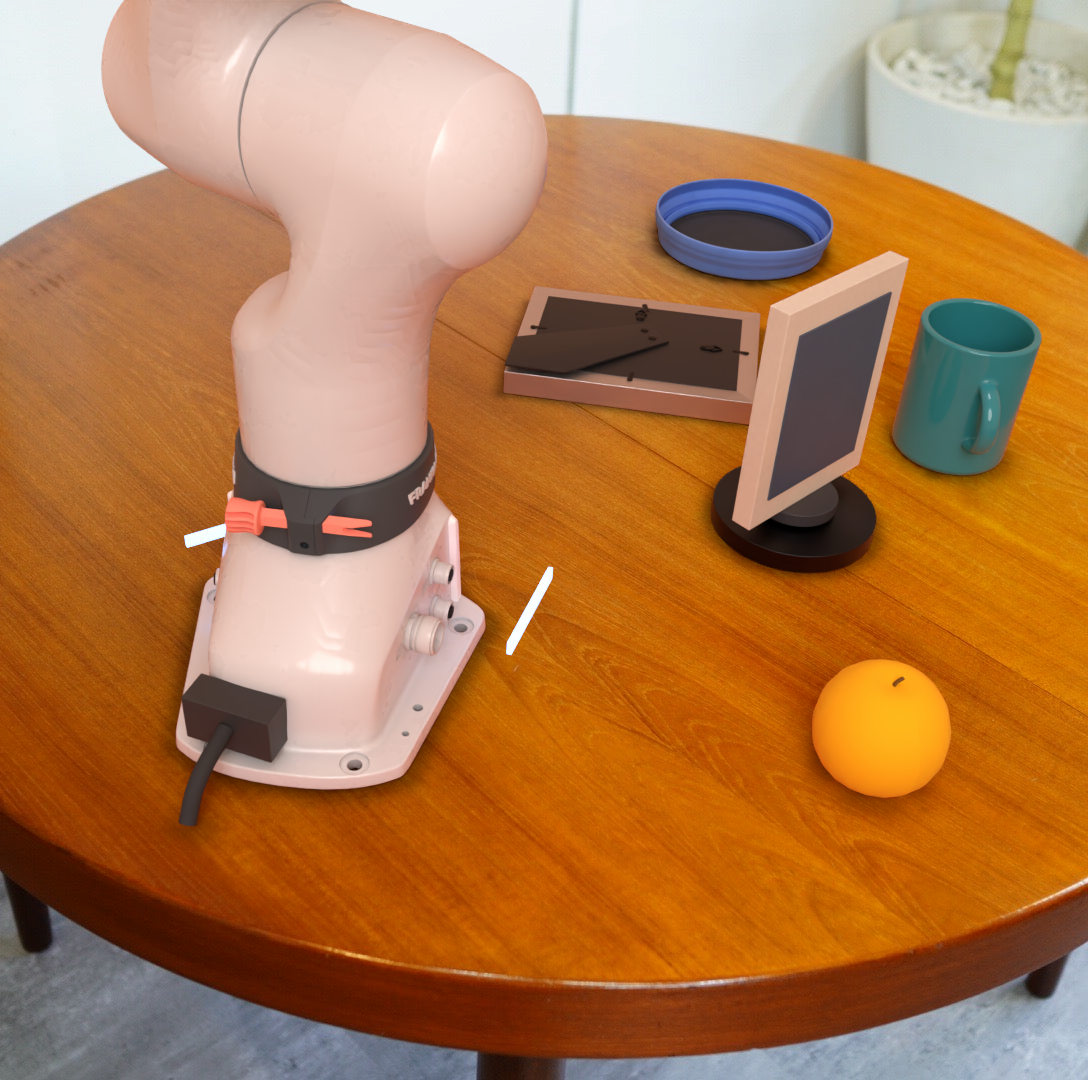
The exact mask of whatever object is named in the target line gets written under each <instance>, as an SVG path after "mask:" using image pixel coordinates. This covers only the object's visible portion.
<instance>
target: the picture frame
mask: <svg viewBox="0 0 1088 1080" xmlns="http://www.w3.org/2000/svg"><path fill="white" fill-rule="evenodd" d="M531 293H532V294H531V296H530V299H529V302H528V305H527V307H526V310H525V313H524V316H523V318H522V321H521V324H520V327H519V330H518V333H517V335H516V336H514V338H513V341H512V343H511V346H510V349H509V351H508V354H507V357H506V359H505V362H504V367H505V370H504V372H503V394H508V395H516V396H523V397H531V398H540V399H547V400H555V401H561V402H571V403H578V404H584V405H585V404H586V405H592V406H593V405H594V406H600V407H608V408H617V409H624V410H631V411H640V412H646V413H647V412H648V413H654V414H663V415H670V416H676V417H677V416H678V417H685V418H693V419H700V420H701V419H702V420H708V421H716V422H724V423H732V424H738V425H739V424H740V425H746V426H747V425H748V426H749V422H750V417H751V411H752V406H753V400H754V394H755V389H756V383H757V377H758V364H759V348H760V347H759V346H760V327H761V313H760V312H751V311H743V310H736V309H729V308H719V307H711V306H703V305H696V304H687V303H678V302H669V301H661V300H655V299H646V298H637V297H630V296H628V297H627V296H621V295H613V294H606V293H605V294H604V293H596V292H588V291H580V290H579V291H578V290H572V289H563V288H556V287H547V286H540V285H539V286H538V285H535V286H534V288H533V290H532V292H531Z"/></svg>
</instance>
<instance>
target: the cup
mask: <svg viewBox="0 0 1088 1080" xmlns="http://www.w3.org/2000/svg"><path fill="white" fill-rule="evenodd" d="M1042 340H1043V335H1042V332H1041V330H1040V329H1039V327H1038V325H1037V324H1036V323H1035V322H1034V321H1033V320H1032V319H1031V318H1029V317H1028V316H1027V315H1025V314H1024V313H1021V311H1018V310H1016V309H1014V308H1011V307H1009V306H1006V305H1003V304H1001V303H997V302H994V301H989V300H984V299H978V298H969V297H954V298H947V299H946V298H945V299H942V300H938V301H934V302H933V303H931V304H929V305H928V306H926V307H925V308H924V309H923V311H922V312H921V315H920V319H919V322H918V327H917V330H916V333H915V337H914V341H913V342H914V343H913V345H912V350H911V353H910V356H909V361H908V365H907V367H906V372H905V376H904V380H903V384H902V387H901V388H902V389H901V392H900V396H899V399H898V403H897V408H896V411H895V415H894V419H893V423H892V427H891V436H892V437H891V438H892V440H893V443H894V445H895V447H896V448H897V449H898V451H899V452H900V453H901V454H902V455H903V456H904V457H905V458H907V459H908V460H910V461H911V462H912V463H914V464H916V465H918V466H920V467H921V468H924V469H927V470H930V471H932V472H936V473H940V474H944V475H951V476H973V475H974V476H975V475H979V474H980V475H981V474H983V473H987V472H989V471H991V470H993V469H994V468H996V467H997V466H998V465H999V464H1000V463H1001V462H1002V460H1003V459H1004V457H1005V454H1006V452H1007V448H1008V445H1009V442H1010V439H1011V437H1012V433H1013V431H1014V427H1015V424H1016V420H1017V418H1018V415H1019V412H1020V410H1021V409H1020V408H1021V405H1022V403H1023V399H1024V396H1025V393H1026V390H1027V388H1028V384H1029V381H1030V378H1031V375H1032V372H1033V369H1034V365H1035V362H1036V360H1037V357H1038V354H1039V351H1040V347H1041V344H1042Z"/></svg>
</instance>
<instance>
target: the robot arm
mask: <svg viewBox="0 0 1088 1080" xmlns="http://www.w3.org/2000/svg"><path fill="white" fill-rule="evenodd" d="M100 65H101V67H100V69H101V73H100V74H101V85H102V91H103V95H104V98H105V103H106V106H107V108H108V110H109V113H110V115H111V117H112V119H113V121H114V122H115V124H116V125H117V126H118V128H119V129H120V131H121V132H122V133H123V134H124V135H125V136H126V137H127V138H128V139H129V140H130V141H131V142H133V143H134V144H135V145H137V146H138V147H139V148H140V149H141V150H143V151H145V152H146V153H147V154H148V155H150V156H151V157H152V158H154V159H155V160H156V161H158V162H159V163H160V164H162V165H164V166H165V167H166V168H168V169H169V170H171V172H174V173H175V174H177V175H178V176H179V177H181V178H182V179H184V180H185V181H187V182H188V183H190V184H192V185H195V186H198V187H200V188H203V189H205V190H207V191H210V192H212V193H216V194H218V195H221V196H223V197H226V198H229V199H231V200H232V201H235V202H238V203H241V204H244V205H247V206H248V207H251V208H254V209H257V210H259V211H262V212H265V213H267V214H269V215H272V216H274V217H276V218H277V219H279V220H280V222H281V224H282V226H283V228H284V230H285V232H286V235H287V238H288V242H289V249H290V250H289V251H290V253H289V255H290V258H289V267H288V269H287V270H285V271H282V272H280V273H277V274H276V275H274V276H272V277H270V278H268V279H267V280H265V281H264V282H263V283H261V284H260V285H259V286H258V287H256V289H254V291H252V292H251V294H249V296H248V297H247V299H246V300H245V301H244V302H243V303H242V305H241V307H240V308H239V310H238V311H237V313H236V315H235V317H234V319H233V321H232V325H231V330H230V338H229V339H230V345H231V356H232V366H233V367H232V368H233V377H234V387H235V396H236V405H237V416H238V424H239V425H238V428H237V431H236V433H235V438H234V450H233V455H232V469H231V475H232V476H231V479H232V485H233V489H231V490H230V491H228V492H227V494H226V496H227V504H226V507H225V513H224V523H223V524H220V525H216V526H212V527H209V528H206V529H203V530H199V531H195V532H193V533H190V534H186V535H184V543H185V546H186V548H190V547H195V546H198V545H201V544H205V543H207V542H211V541H215V540H219V539H221V538H224V539H223V544H222V550H221V557H220V564H219V567H217V568H216V569H215V572H214V573H213V576H212V577H210V578H209V579H208V580H207V581H206V582H205V584H204V587H203V591H202V596H201V602H200V607H199V611H198V617H197V621H196V627H195V631H194V637H193V642H192V647H191V652H190V657H189V660H188V661H189V662H188V667H187V672H186V677H185V682H184V687H183V691H182V695H181V697H180V707H179V712H178V717H177V724H176V728H175V746H176V748H177V749H178V751H179V752H181V753H182V754H184V755H185V756H186V757H187V758H188V759H190V760H191V761H193V762H195V765H194V767H193V769H192V770H191V774H190V776H189V778H188V780H187V783H186V786H185V788H184V789H185V790H184V793H183V796H182V801H181V805H180V811H179V818H178V824H181V825H182V826H186V827H195V826H197V825H198V819H199V814H200V809H201V803H202V799H203V795H204V792H205V789H206V787H207V784H208V781H209V779H210V776H211V774H212V772H213V771H214V772H217V773H219V774H222V775H226V776H229V777H232V778H235V779H240V780H244V781H249V782H252V783H260V784H265V785H271V786H277V787H286V788H296V789H305V790H306V789H307V790H348V789H358V788H359V789H360V788H366V787H372V786H376V785H381V784H384V783H388V782H391V781H393V780H397V779H399V778H401V777H402V776H404V775H405V774H406V773H407V771H408V770H409V769H410V767H411V765H412V763H413V762H414V760H415V758H416V757H417V754H418V752H419V751H420V749H421V747H422V746H423V743H424V742H425V740H426V738H427V737H428V735H429V733H430V731H431V729H432V727H433V725H434V724H435V722H436V720H437V719H438V716H439V715H440V713H441V711H442V709H443V708H444V706H445V703H446V702H447V700H448V698H449V696H450V694H451V692H452V691H453V689H454V687H455V685H456V684H457V682H458V680H459V678H460V676H461V674H462V673H463V672H464V669H465V667H466V665H467V663H468V662H469V660H470V658H471V656H472V654H473V652H474V651H475V649H476V647H477V645H478V644H479V643H480V640H481V638H482V636H483V634H484V633H485V630H486V627H487V626H486V625H487V624H486V616H485V612H484V610H483V609H482V608H481V607H480V606H479V605H478V604H477V603H475V602H474V601H472V600H471V599H469V598H468V597H467V596H464V595H463V594H462V582H461V581H462V580H461V578H462V577H461V554H460V552H461V551H460V529H459V520H458V519H457V517H455V515H454V514H453V512H452V511H451V510H450V509H449V508H448V506H447V505H445V503H444V502H443V501H442V499H441V498H440V496H439V495H438V493H437V492H436V489H435V486H436V470H437V464H438V457H437V456H438V455H437V447H436V442H435V432H434V429H433V426H432V424H431V422H430V420H429V419H428V411H429V410H428V409H429V408H428V405H429V404H428V403H429V375H430V374H429V373H430V359H431V358H430V356H431V341H432V335H433V329H434V324H435V321H436V317H437V314H438V311H439V310H440V307H441V305H442V303H443V301H444V298H445V297H446V295H447V293H448V292H449V290H450V289H451V288H452V286H453V285H454V283H456V282H457V280H459V279H460V278H461V277H463V276H464V275H465V274H467V273H469V272H470V271H473V270H475V269H477V268H479V267H481V266H483V265H485V264H487V263H489V262H490V261H492V260H493V259H494V258H496V257H498V256H499V255H501V253H503V252H504V251H505V250H507V248H509V247H510V246H511V245H512V244H513V243H514V241H516V240H517V238H519V236H520V235H521V234H522V232H524V229H525V228H526V227H527V225H528V224H529V222H530V220H531V219H532V218H533V216H534V214H535V212H536V210H537V207H538V205H539V203H540V201H541V197H542V195H543V192H544V189H545V184H546V180H547V175H548V167H549V138H548V133H547V132H548V131H547V125H546V121H545V118H544V113H543V111H542V108H541V105H540V103H539V100H538V97H537V95H536V93H535V92H534V90H533V89H532V87H531V86H530V84H529V83H528V82H527V81H526V80H525V79H524V78H522V77H521V76H519V75H518V74H516V73H514V72H513V71H511V70H510V69H508V68H506V67H504V66H503V65H502V64H500V63H498V62H497V61H495V60H494V59H492V58H490V57H489V56H487V55H485V54H483V53H482V52H480V51H478V50H476V49H474V48H473V47H470V46H469V45H467V44H465V43H463V42H462V41H460V40H458V39H456V38H455V37H453V36H452V35H449V34H447V33H445V32H444V33H443V32H440V31H436V30H434V29H429V28H426V27H422V26H419V25H415V24H412V23H408V22H404V21H401V20H398V19H394V18H391V17H388V16H384V15H381V14H377V13H373V12H370V11H367V10H363V9H361V8H357V7H353V6H351V5H349V4H347V3H345V2H343V1H342V0H123V1H122V2H121V3H120V4H119V7H118V8H117V9H116V11H115V13H114V14H113V16H112V19H111V21H110V23H109V26H108V29H107V32H106V35H105V38H104V43H103V47H102V53H101V64H100ZM553 571H554V567H552V566H548V567H547V569H546V570H545V572H544V574H543V575H542V578H541V579H540V581H539V584H538V585H537V587H536V589H535V591H534V592H533V594H532V596H531V598H530V600H529V602H528V604H527V605H526V607H525V609H524V610H523V612H522V614H521V616H520V618H519V619H518V622H517V624H516V625H515V627H514V629H513V631H512V633H511V635H510V637H509V638H508V640H507V642H506V655H510V656H512V654H513V652H514V651H515V649H516V647H517V645H518V643H519V641H520V640H521V638H522V636H523V634H524V632H525V631H526V628H527V626H528V624H529V623H530V621H531V619H532V618H533V615H534V613H535V611H536V610H537V609H538V606H539V605H540V603H541V600H542V599H543V596H544V595H545V593H546V591H547V589H548V587H549V585H550V584H551V582H552V580H553V574H554V573H553ZM354 769H357V770H354Z"/></svg>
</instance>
